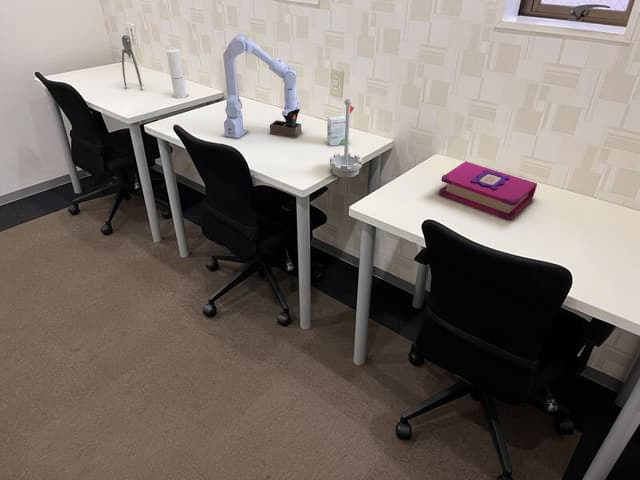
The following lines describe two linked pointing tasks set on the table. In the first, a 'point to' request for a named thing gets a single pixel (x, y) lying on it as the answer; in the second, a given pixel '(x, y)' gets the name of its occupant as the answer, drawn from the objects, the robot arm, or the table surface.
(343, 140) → the ink box
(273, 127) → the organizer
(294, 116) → the grey and orange cylinder
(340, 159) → the flag stand
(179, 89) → the cylindrical container
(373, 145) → the table surface
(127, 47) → the juicer
